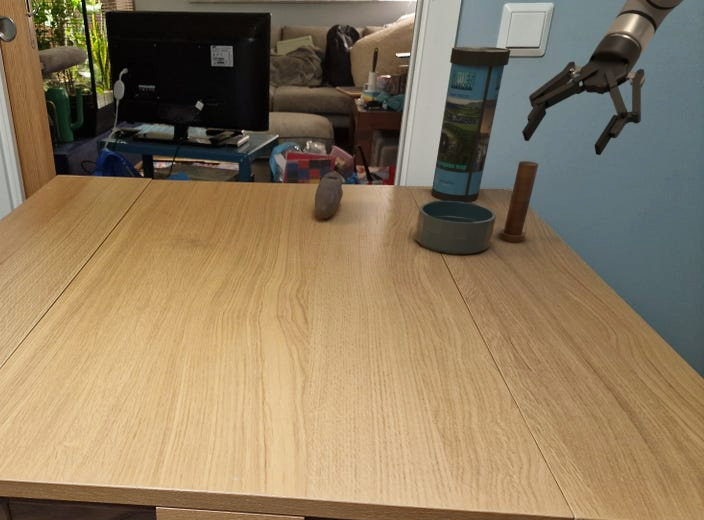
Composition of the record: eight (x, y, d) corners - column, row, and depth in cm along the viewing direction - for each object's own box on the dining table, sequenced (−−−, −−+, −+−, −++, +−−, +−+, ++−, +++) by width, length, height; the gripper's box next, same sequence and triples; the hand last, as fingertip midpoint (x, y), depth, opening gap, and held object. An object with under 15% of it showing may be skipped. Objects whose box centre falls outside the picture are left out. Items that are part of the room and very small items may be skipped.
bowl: (504, 249, 120) (512, 216, 117) (448, 260, 115) (455, 227, 112) (453, 227, 130) (459, 197, 127) (399, 237, 125) (404, 206, 122)
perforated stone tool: (332, 225, 131) (335, 190, 127) (306, 222, 132) (308, 188, 129) (344, 203, 143) (347, 171, 140) (320, 201, 145) (322, 169, 141)
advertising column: (482, 192, 151) (512, 48, 136) (477, 205, 142) (508, 53, 127) (432, 186, 155) (455, 45, 140) (424, 199, 146) (448, 50, 131)
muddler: (529, 240, 124) (547, 164, 117) (511, 243, 122) (529, 167, 115) (510, 233, 127) (527, 159, 120) (493, 236, 126) (510, 161, 119)
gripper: (695, 70, 118) (632, 169, 117) (558, 56, 134) (502, 143, 133) (695, 38, 112) (629, 143, 111) (552, 28, 128) (493, 119, 128)
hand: (559, 143), depth 122 cm, fingers open, 13 cm apart
